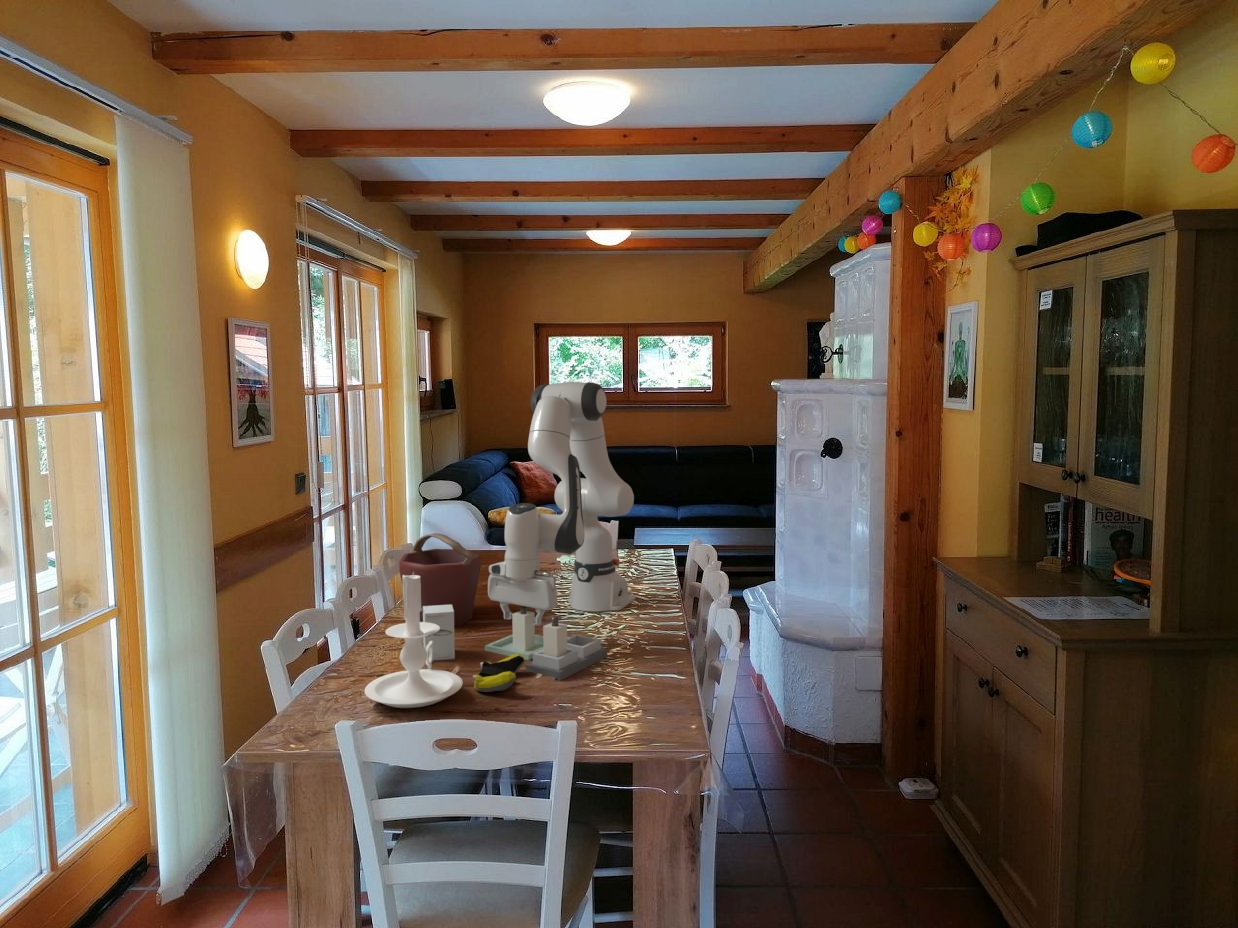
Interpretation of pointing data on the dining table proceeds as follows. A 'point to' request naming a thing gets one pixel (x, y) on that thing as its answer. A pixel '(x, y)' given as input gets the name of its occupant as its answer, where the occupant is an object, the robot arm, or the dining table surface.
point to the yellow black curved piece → (498, 674)
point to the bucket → (444, 575)
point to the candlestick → (413, 660)
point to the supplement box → (440, 631)
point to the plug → (523, 629)
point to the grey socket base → (564, 652)
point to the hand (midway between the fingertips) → (522, 621)
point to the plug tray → (506, 648)
